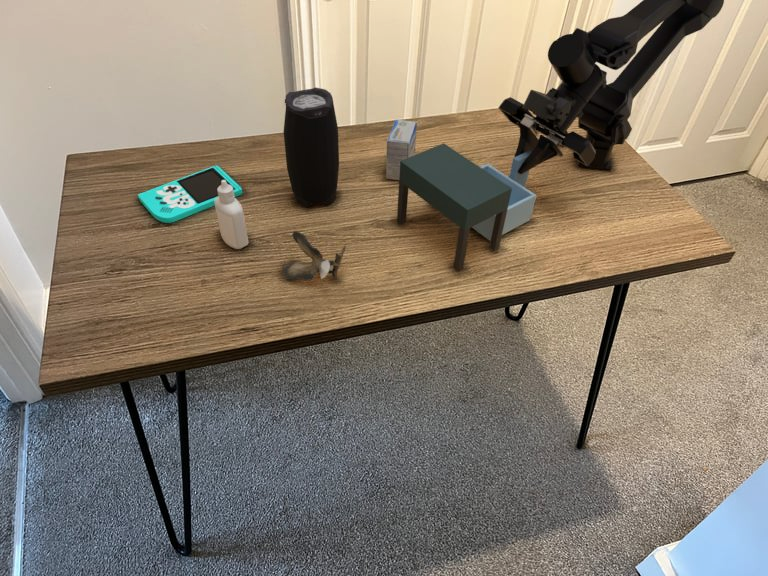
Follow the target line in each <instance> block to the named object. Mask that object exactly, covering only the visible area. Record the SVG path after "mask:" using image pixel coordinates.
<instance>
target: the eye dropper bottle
mask: <svg viewBox="0 0 768 576" xmlns="http://www.w3.org/2000/svg"><path fill="white" fill-rule="evenodd" d="M217 191H218V196H219V197H217V198H216V199H215V201H214V203H215V205H214V209H215V213H216V218H217V222H218V228H219V232H220V237H221V239H222V240H223V242H224V243H225V244H226V245H227V246H228V247H230V248H233V249H235V250H241V249H243V248H245V247H247V246H248V245H249V242H250V241H249V237H248V231H247V225H246V220H245V219H246V218H245V213H244V209H243V206H242V204H241V202H240V201H239V200H238V199H237V198H236V197H235V196H234V190H233V187H232V186H231V185H229V184H227V182H226V180H222V181H221V185H220V186H219V187H218V189H217Z"/></svg>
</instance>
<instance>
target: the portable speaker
mask: <svg viewBox="0 0 768 576" xmlns="http://www.w3.org/2000/svg"><path fill="white" fill-rule="evenodd" d="M284 104H285V111H284V123H283V142H284V152H285V162H286V163H285V164H286V169H287V174H288V178H289V182H290V185H291V191H292V193H293V196H294V199H295V201H296V203H297V205H300V206H302V207H304V208H309V207H310V206H313V205H320V204H321V205H322V204H325V205H327V206H329V205H332V204H333V203H334V202H335V200H336V199H337V189H338V182H339V171H340V149H339V148H340V147H339V145H340V143H339V142H340V141H339V126H338V120H337V116H336V111H335V110H336V109H335V104H334V97H333V95H332V93H331V92H330V91H328V90H327V89H326V88H320V87H313V88H307V89H301V90H296V91H289V92H288V93H286V95H285V98H284Z"/></svg>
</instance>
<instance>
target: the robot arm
mask: <svg viewBox="0 0 768 576" xmlns="http://www.w3.org/2000/svg"><path fill="white" fill-rule="evenodd" d="M724 4H725V0H642V1H641V2H639V3H638V4H637V5H635V6H634V7H632V8H631V9H630V10H629V11H628V12H627V13H626V14H623V15H622V16H617V17H611V18H607V19H606V20H604V21H602V22H601V23H599V24H597V25H595V26H594V27H593V28H592V29H590V30H589V31H585V30H584V29H581V28H578V27H576V28H575V29H574V31H573V32H572V33H567V34H564V35H561V36H559V37H558V38H557V39H555V40H553V41H552V43H551V44H550V45H549V48H548V51H547V59H548V61H549V63H550V65H551V67H552V68H553V70H554V71H555V73H556V74H557V77H558V78H559V79H560V81H561V82H560V83H559V85H558V86H557V87H556V88H555V87H551V88H550V89H549V90H548V91H547V93H543V92H541V91H537V90H534V89H530V91H529V92H528V95H527V97H526V98H525V101H524V103H522V102H520V101H519V100H517V99H515V98H513V97H511V96H510V97H508V98H505V99H504V100H502V102H501V103H500V105H499V106H498V108H497V109H498V110H499V111H500V112H501V113H502V114H503V116H504V117H505V118H506V119H507V120H508V121H509V122H510V123H512V124H513V125H515V126H517V127H518V129H519V140H518V144H517V147H516V150H515V153H514V157H516V156H519V155H521V154H523V153H525V152H527V151H531V153H530V155H529V156H528V157H527V158H526V160H525V161H524V162H523V164H522V165H521V167H520V168H519V170H518V173H519V174H523V173H525V172H526V171H528V170H529V171H530V170H531V169H533V168H535V167H537V166H538V165H540V164H542V163H544V162H546V161H548V160H550V159H553V158H555V157H557V156H558V157H560V158H561V157H563V156H564V151H565V150H566V149H568V150H569V151H571V152H573V153H572V154H573V159H574V160H576V161H577V166H578V167H579V168H587V169H594V170H595V169H596V170H603V171H604V170H605V171H611V170H612V169H613V165H612V160H611V156H612V152H613V149H614V146H615V145H624V144H625V141H626V140H627V139H628V138H629V136H630V135H631V132H632V130H633V128H632V126H631V123H630V121H629V118H630V117H631V115H632V108H633V102H634V99H635V98H636V97H637V95H638V94H639V93H640V91H641V90H642V89H643V88H644V87H645V86H646V84H647V83H648V82H649V81H650V79H651V78H652V77H653V76H654V74H655V73H656V72H657V71H658V69H660V68H661V66H662V65H663V64H664V63H665V61H666V60H667V59H668V57H669V56H670V55H671V54H672V53H673V51H675V49H676V48H677V46H679V44H680V43H681V42H682V41H683V40H684V39H685V38H686V37H687V36H690V35H692V34H695V33H696V32H697V33H698V32H699V31H701V30H703V29H704V28H705V27H706V26H707V25H708V24H709V23H710V22H711V21H712V20H713V19H714V18H716V17H717V16H718V15H719V13H720V12H721V10H722V8H723V7H724ZM654 29H655V31H654V32H653V33H652V34H651V36H650V37H649V38H648V39H647V40H646V42H645V43H644V44H643V45H642V46H641V48H640V49H639V50H638V51H637V49H638V44H639V43H640V41H641V40H643V38H645V37H646V36H647V35H648V34H649V33H651V32H652V31H653V30H654ZM598 64H600V65H602V66H604V67H607V68H608V69H611V70H613V71H617V70H619V69H621V68H623V67H624V66H625V67H624V68H623V70H622V71H621V72H620V73H619V75H617V77H616V78H615V80H614V81H612V82H611V83H608V84H607V82H608V81H607V75H608V72H607V71H605V70H603V69H601V67H600V66H599V65H598ZM531 112H532V113H531ZM534 115H535V116H534ZM576 119H578V121H577V123H578V124H577V127H578V129H581V130H583V131H585V132H586V135H585V137H584V136H582V135H580V134H579V133H578V132H575V131H573V130H572V131H570V132H568V130H569V128H570V127H571V126H572V124H573V123H574V122H575V120H576ZM538 135H539V138H538V137H537V136H538ZM514 157H513V158H514Z"/></svg>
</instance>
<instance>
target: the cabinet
mask: <svg viewBox="0 0 768 576" xmlns="http://www.w3.org/2000/svg"><path fill="white" fill-rule="evenodd" d="M480 167H481V166H479V165H477V163H474V162H473V161H471V160H470V159H469V158H467V157H465V156H464V155H462V154H461V153H459V152H458V151H456V150H455V149H454V148H452V147H450V146H448V145H447V144H446V143H440V144H438V145H436V146H434V147H433V146H432V147H431V148H429V149H426V150H423V151H421V152H419V153H415V155H414V156H411V157H409V158H407V159H404V160H402V161H400V176H399V180H398V193H397V194H398V195H397V212H396V222H397V223H398V224H400V225H403V224H405V223H407V215H408V214H407V213H408V202H409V201H408V200H409V199H408V198H409V190H410V191H411V192H412V193H414V194H415V195H416V196H418V197H419V198H421V199H422V200H423V201H424V202H426V203H427V204H428V205H430V206H431V207H432V208H434V209H435V210H437V211H438V212H439V213H440V214H442V215H443V216H444V217H446V218H447V219H448V220H450V221H451V222H452V223H453V224H454V225H456V226H457V227H458V233H457V239H456V246H455V253H454V259H453V266H452V267H453V269H454V270H456V271H457V272H460V271H461V270H463V269H464V266H465V260H466V255H467V249H468V248H467V247H468V242H469V236H470V231H471V228H472V227H473V226H475V225H477V224H479V223H481V222H483V221H485V220H486V219H488V218H490V217H492V216H494V215H496V217H495V222H494V227H493V232H492V237H491V241H489V247H488V249H490V250H491V251H492V252H496V251H498V250H499V249H500V245H501V240H502V236H503V235H502V232H503V228H504V223H505V218H506V214H507V209H508V205H509V200H510V196H511V191H512V188H511V187H509V186H508V185H506V184H505V183H503V182H502V181H500V180H499V179H497V178H496V177H494V176H493V175H491V174H490V173H488V172H487V171H485V170H483V169H482V168H480Z"/></svg>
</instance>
